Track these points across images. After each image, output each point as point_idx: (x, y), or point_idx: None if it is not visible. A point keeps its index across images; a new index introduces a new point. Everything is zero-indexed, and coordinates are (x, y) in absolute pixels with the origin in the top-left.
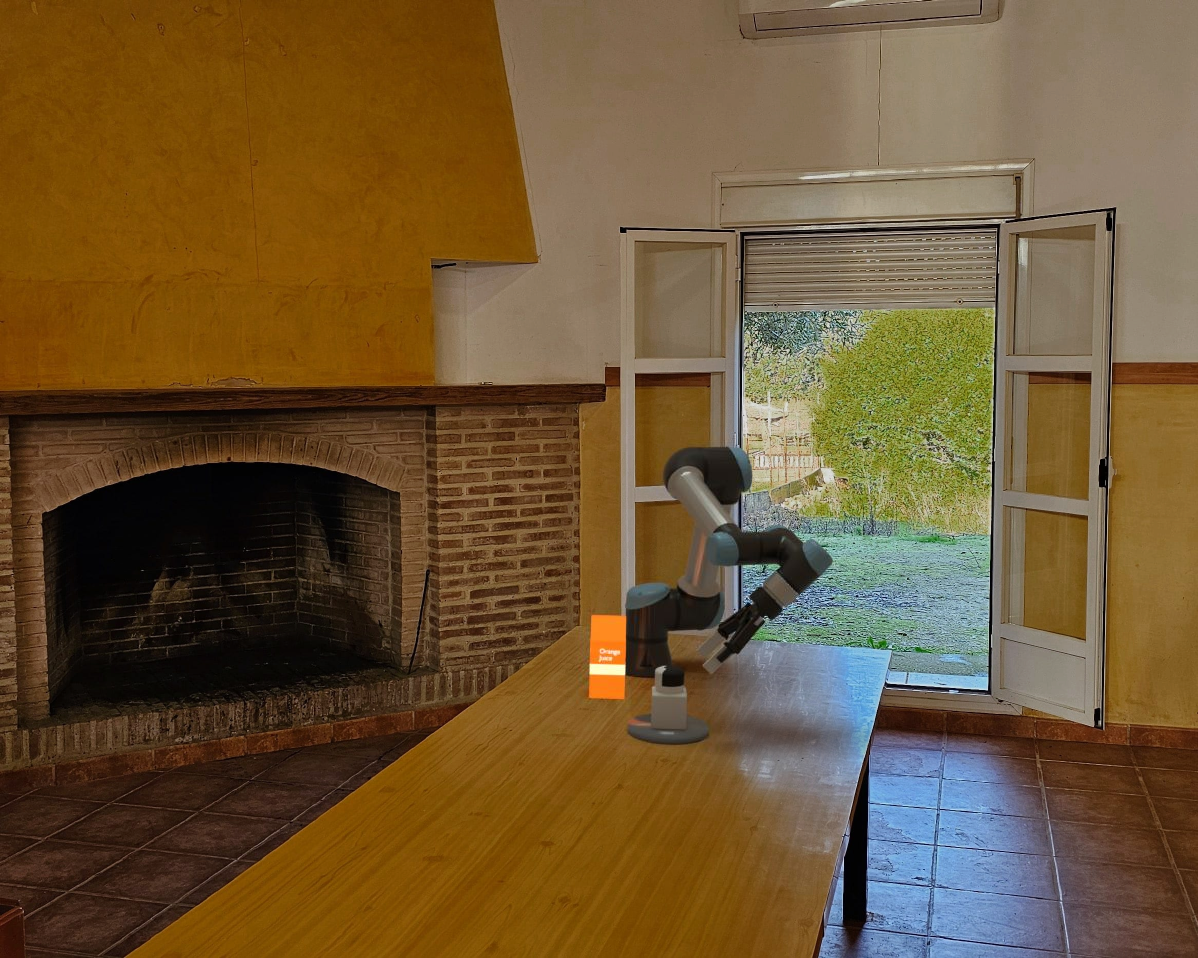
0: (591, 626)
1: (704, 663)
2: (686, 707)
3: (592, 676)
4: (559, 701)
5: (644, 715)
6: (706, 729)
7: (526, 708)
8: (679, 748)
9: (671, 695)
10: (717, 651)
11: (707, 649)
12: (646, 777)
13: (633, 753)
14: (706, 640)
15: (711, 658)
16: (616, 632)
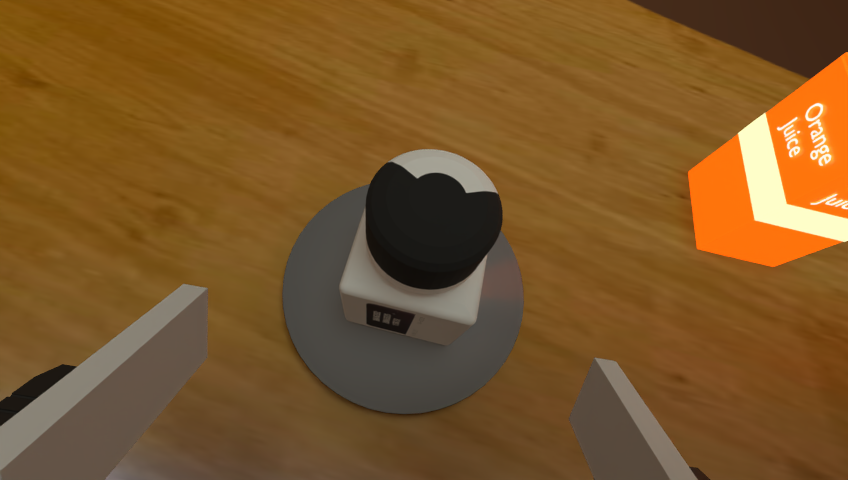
0: None
1: (193, 296)
2: (345, 303)
3: (733, 143)
4: (647, 109)
5: (500, 241)
6: (342, 393)
7: (589, 47)
8: (249, 280)
9: (359, 235)
10: (86, 383)
11: (603, 442)
12: (57, 144)
13: (244, 161)
14: (665, 441)
15: (127, 331)
16: None
